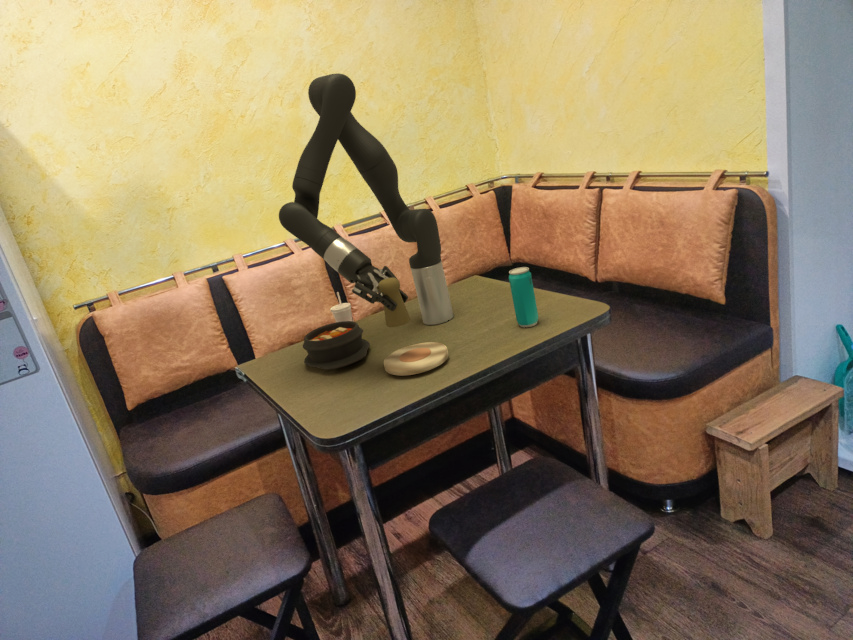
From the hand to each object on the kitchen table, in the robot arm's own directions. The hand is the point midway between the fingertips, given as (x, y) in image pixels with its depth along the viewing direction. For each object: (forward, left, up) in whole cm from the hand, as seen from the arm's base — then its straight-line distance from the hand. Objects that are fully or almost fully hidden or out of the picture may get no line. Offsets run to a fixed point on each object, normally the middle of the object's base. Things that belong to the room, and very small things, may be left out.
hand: (400, 304), depth 142 cm
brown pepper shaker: (0, -2, -5) cm, 5 cm away
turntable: (-1, 0, -16) cm, 17 cm away
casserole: (-12, -26, -17) cm, 33 cm away
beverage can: (-20, +26, -17) cm, 37 cm away
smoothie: (-30, -30, -17) cm, 46 cm away
